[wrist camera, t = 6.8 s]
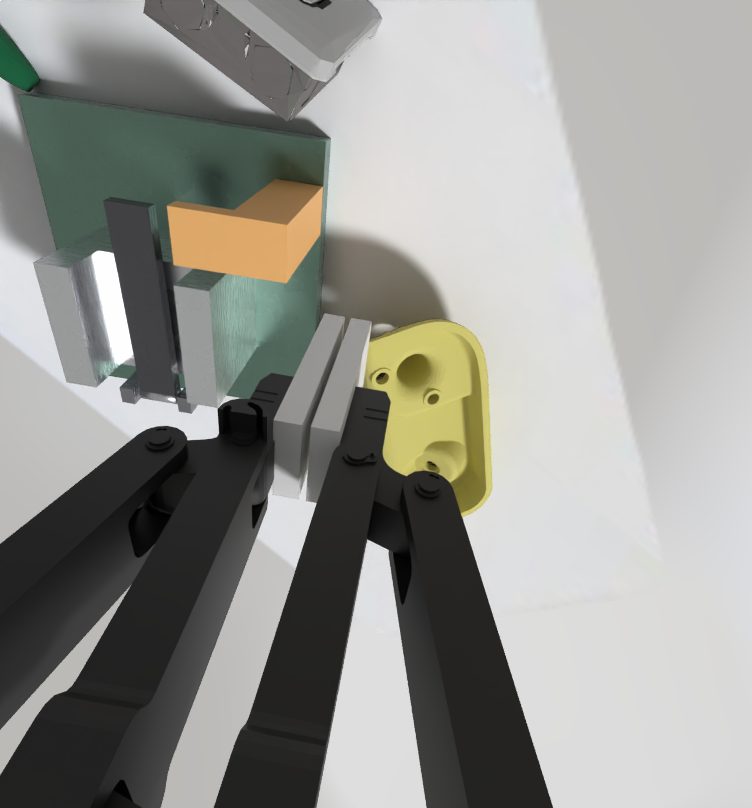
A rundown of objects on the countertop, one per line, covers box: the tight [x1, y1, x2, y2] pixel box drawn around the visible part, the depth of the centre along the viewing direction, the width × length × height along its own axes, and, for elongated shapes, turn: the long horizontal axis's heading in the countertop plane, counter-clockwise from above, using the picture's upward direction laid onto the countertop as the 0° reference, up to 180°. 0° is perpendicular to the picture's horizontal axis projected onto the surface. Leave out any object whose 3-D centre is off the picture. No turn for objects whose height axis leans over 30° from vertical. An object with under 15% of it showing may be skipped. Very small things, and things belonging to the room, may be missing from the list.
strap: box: [103, 197, 182, 404], centre depth 32 cm, size 14×3×1 cm, turn 173°
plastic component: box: [363, 319, 492, 517], centre depth 41 cm, size 20×7×10 cm
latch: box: [167, 179, 323, 283], centre depth 29 cm, size 3×6×9 cm, turn 83°
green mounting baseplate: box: [18, 92, 331, 414], centre depth 34 cm, size 20×19×10 cm
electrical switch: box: [143, 0, 382, 122], centre depth 25 cm, size 9×5×9 cm, turn 56°
